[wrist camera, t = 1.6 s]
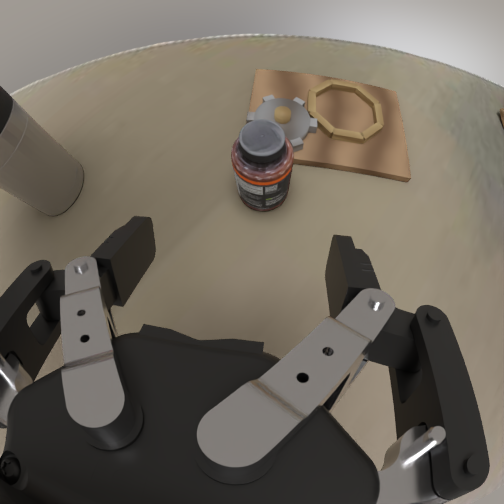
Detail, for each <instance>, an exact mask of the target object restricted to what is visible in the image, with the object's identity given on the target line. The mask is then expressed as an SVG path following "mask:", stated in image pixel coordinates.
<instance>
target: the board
mask: <svg viewBox="0 0 504 504" xmlns="http://www.w3.org/2000/svg"><path fill="white" fill-rule="evenodd" d="M258 119H266V120H270V121H273V122H275V123H277V124H278V125H279V126H280V127H281V128H282V129H283V131H284V133H285V137H287V138H288V140H289V141H290V143H291V145H292V148H293V152H294V160H293V164H300V165H308V166H316V167H323V168H330V169H337V170H344V171H350V172H356V173H362V174H367V175H373V176H378V177H384V178H389V179H394V180H399V181H404V182H408V181H409V180H410V179H411V174H410V166H409V159H408V152H407V145H406V139H405V133H404V128H403V123H402V117H401V113H400V108H399V103H398V99H397V95H396V92H395V91H392V90H388V89H384V88H380V87H376V86H372V85H367V84H363V83H358V82H353V81H348V80H343V79H338V78H332V77H326V76H319V75H312V74H305V73H296V72H287V71H276V70H263V69H256V73H255V79H254V84H253V90H252V96H251V101H250V107H249V112H248V114H247V120H246V121H247V123H249V122H251V121H254V120H258Z"/></svg>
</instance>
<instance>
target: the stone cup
mask: <svg viewBox="0 0 504 504" xmlns="http://www.w3.org/2000/svg"><path fill="white" fill-rule="evenodd" d="M500 115H501V120H502V124H503V127H504V109H500Z"/></svg>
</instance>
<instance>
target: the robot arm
mask: <svg viewBox="0 0 504 504" xmlns="http://www.w3.org/2000/svg"><path fill="white" fill-rule="evenodd" d="M83 177H84V174H83V169H82V166H81V165H80V164H79V162H78V161H76V160H75V159H74V158H73V157H72V156H71V155H70V154H69V153H68V152H67V151H66V150H65V149H64V148H63V147H62V146H61V145H60V144H59V143H57V142H56V141H55V140H54V139H53V138H52V137H51V136H50V135H49V134H48V133H47V132H46V131H45V130H44V129H43V128H42V127H41V126H40V125H39V124H38V123H37V122H36V121H35V120H34V119H33V118H32V117H31V116H30V115H29V114H28V113H27V112H26V111H25V110H24V109H23V108H22V107H21V106H20V105H19V104H18V103H17V102H16V101H15V100H14V99H13V98H12V97H11V96H10V95H9V94H8V93H7V92H6V91H5V90H4V89H3V88H2V87H1V86H0V188H2V189H3V190H5V191H7V192H8V193H10V194H12V195H13V196H15V197H17V198H19V199H20V200H22V201H24V202H26V203H27V204H29V205H31V206H32V207H34V208H36V209H38V210H39V211H41V212H43V213H45V214H47V215H49V216H55V215H59V214H61V213H63V212H64V211H66V210H67V209H68V208H69V207H70V206H71V205H72V204H73V203H74V201H75V200H76V198H77V196H78V195H79V193H80V190H81V188H82V184H83ZM155 252H156V247H155V240H154V232H153V224H152V220H151V218H150V217H141V216H134V217H133V218H132V219H131V220H130V221H129V222H128V223H127V224H126V225H125V226H122V227H120V228H119V229H117V230H115V231H114V232H113V233H112V234H111V235H110V236H109V238H107V239H106V240H105V241H104V243H102V244H101V245H100V246H99V248H98V249H97V250H96V251H95V252H94V253H93V254H92V255H91V256H90V257H89V256H84V257H79V258H76V259H74V260H72V261H71V262H70V263H68V265H67V266H66V268H65V270H56V271H53V270H52V267H51V264H50V262H49V261H47V260H40V261H36V262H34V263H32V264H30V265H29V266H28V267H27V268H26V269H25V270H24V271H23V272H22V273H21V274H20V275H19V276H18V278H17V279H16V280H15V281H14V282H13V283H12V284H11V286H10V287H9V288H8V289H7V290H6V291H5V293H4V294H3V295H2V296H1V297H0V428H7V434H6V441H5V447H4V451H3V454H2V456H1V458H0V504H444V503H446V502H449V501H451V500H453V499H456V498H458V497H460V496H462V495H464V494H467V493H469V492H471V491H473V490H475V489H477V488H478V487H480V486H481V485H482V484H483V483H484V481H485V480H486V478H487V476H488V473H489V467H490V464H489V456H488V451H487V445H486V440H485V435H484V430H483V426H482V421H481V417H480V413H479V409H478V405H477V401H476V398H475V394H474V391H473V387H472V384H471V381H470V377H469V374H468V371H467V368H466V365H465V362H464V359H463V356H462V354H461V351H460V348H459V345H458V343H457V340H456V337H455V335H454V332H453V330H452V327H451V325H450V322H449V320H448V318H447V316H446V315H445V314H444V313H443V312H442V311H441V310H440V309H438V308H436V307H434V306H430V305H423V306H420V307H419V308H418V309H417V311H416V313H415V314H413V313H410V312H406V311H403V310H400V309H398V308H396V307H395V302H394V300H393V298H392V297H391V296H390V295H389V294H387V293H386V292H384V291H382V290H381V289H380V286H379V283H378V280H377V277H376V275H375V272H374V269H373V267H372V265H371V261H370V259H369V256H368V255H367V254H366V253H365V252H364V251H363V250H362V249H355V246H354V243H353V241H352V238H351V237H350V236H341V235H333V238H332V242H331V247H330V251H329V256H328V260H327V265H326V272H325V280H326V287H327V295H328V302H329V310H330V316H328V317H327V318H326V319H324V320H323V321H322V322H321V323H320V324H319V325H318V326H317V327H316V328H315V329H314V330H313V331H312V332H311V333H310V334H309V335H308V336H307V337H305V338H304V339H303V340H302V341H301V342H300V343H299V344H298V345H297V346H296V347H295V348H293V349H292V350H291V351H290V352H289V353H288V354H287V355H286V356H284V357H283V358H282V359H279V358H277V357H275V356H273V355H271V354H269V353H266V352H263V346H264V342H255V341H246V340H238V339H221V340H196V339H194V338H191V337H189V336H186V335H184V334H181V333H179V332H176V331H174V330H171V329H167V328H161V327H156V326H151V325H146V324H143V326H142V328H141V330H140V332H138V333H129V334H124V335H121V336H118V333H117V329H116V326H115V322H114V318H113V314H112V311H111V307H112V305H117V306H122V307H123V306H124V305H125V303H126V302H127V300H128V298H129V297H130V295H131V294H132V292H133V290H134V289H135V287H136V286H137V284H138V283H139V281H140V280H141V278H142V277H143V275H144V274H145V272H146V270H147V269H148V267H149V266H150V264H151V263H152V261H153V260H154V257H155ZM35 302H36V304H37V306H38V309H39V311H40V314H39V315H38V316H37V318H36V319H35V321H34V322H33V324H32V325H31V326H30V328H29V326H28V324H27V319H26V318H27V314H28V312H29V310H30V309H31V307H32V306H33V305H34V303H35ZM60 334H61V335H62V347H63V358H64V366H62V367H60V368H59V369H57V370H55V371H53V372H51V373H49V374H48V375H46V376H44V377H42V378H40V379H39V380H37V381H35V382H34V380H35V378H36V376H37V375H38V373H39V371H40V369H41V367H42V365H43V364H44V362H45V360H46V358H47V356H48V355H49V353H50V351H51V349H52V348H53V346H54V344H55V343H56V341H57V339H58V338H59V336H60ZM368 361H372V362H376V363H379V364H382V365H386V366H388V367H389V374H390V380H391V388H392V395H393V403H394V412H395V422H396V433H397V441H396V442H394V443H393V444H392V445H391V446H390V447H389V448H388V450H387V451H386V454H385V458H384V464H383V467H382V469H381V471H377V469H376V467H375V465H374V463H373V461H372V460H371V459H370V458H369V456H368V455H367V454H366V453H365V452H364V451H363V450H362V449H361V448H360V446H359V445H358V444H357V443H356V442H355V441H354V440H353V439H352V437H351V436H350V435H349V434H348V433H347V432H346V431H345V430H344V428H343V427H342V426H341V425H340V424H339V423H338V422H337V420H336V419H335V418H334V417H333V416H332V415H331V411H332V410H333V409H334V408H335V406H336V405H337V404H338V402H339V401H340V399H341V398H342V396H343V395H344V394H345V392H346V391H347V390H348V388H349V387H350V386H351V384H352V383H353V382H354V381H355V379H356V378H357V377H358V375H359V374H360V373H361V371H362V370H363V368H364V367H365V366H366V364H367V363H368Z"/></svg>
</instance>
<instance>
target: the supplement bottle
mask: <svg viewBox="0 0 504 504" xmlns="http://www.w3.org/2000/svg"><path fill="white" fill-rule="evenodd" d="M231 158H232V164H233V169H234V174H235V179H236V183H237V188H238V192H239V195H240V197H241V199H242V201H243V202H244V203H245V204H246V205H247V206H249V207H250V208H252V209H255V210H258V211H268V210H272V209H274V208H276V207H278V206H279V205H281V204H282V203H283V201H284V200H285V198H286V196H287V193H288V189H289V184H290V178H291V172H292V167H293V160H294V152H293V148H292V145H291V143H290V141H289V140H288V138H287V137H285V133H284V131H283V129H282V128H281V127H280V126H279V125H278V124H277V123H275V122H273V121H270V120H266V119H258V120H254V121H251V122H249V123H247V124H246V125H245V126H244V127H243V128H242V129H241V131H240V134H239V137H238V138H237V140H236V141H235V143H234V144H233V147H232V153H231Z"/></svg>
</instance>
